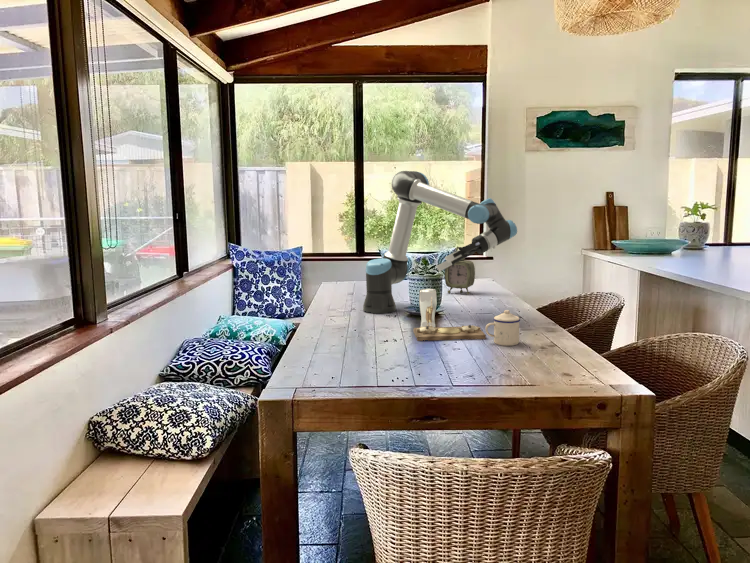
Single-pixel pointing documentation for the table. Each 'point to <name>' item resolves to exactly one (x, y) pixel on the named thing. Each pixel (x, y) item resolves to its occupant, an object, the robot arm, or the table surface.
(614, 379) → the table surface
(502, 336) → the teacup with lid
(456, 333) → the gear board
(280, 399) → the table surface
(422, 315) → the beer glass
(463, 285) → the tabletop clock
